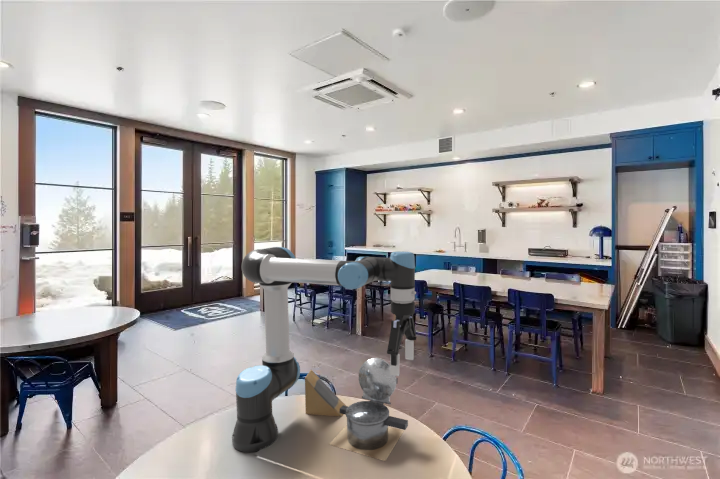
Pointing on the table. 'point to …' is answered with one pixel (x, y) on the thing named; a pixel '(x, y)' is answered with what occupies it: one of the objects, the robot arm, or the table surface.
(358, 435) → the pot
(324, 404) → the sandwich container
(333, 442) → the trivet
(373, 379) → the lid
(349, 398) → the table surface
